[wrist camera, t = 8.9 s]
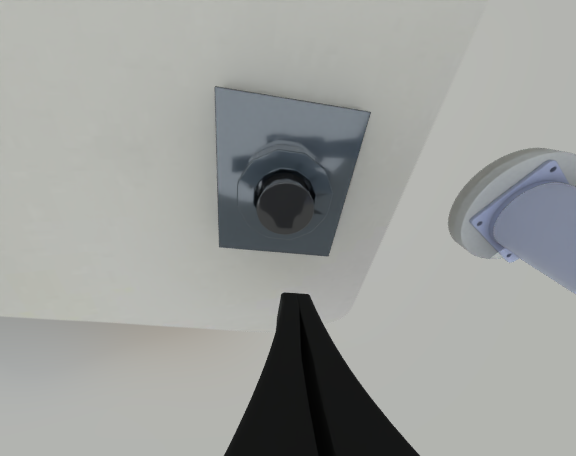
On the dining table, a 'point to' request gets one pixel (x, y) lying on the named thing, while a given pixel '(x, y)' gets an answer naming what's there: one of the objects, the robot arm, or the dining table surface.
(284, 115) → the grey button housing
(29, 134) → the dining table surface
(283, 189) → the dark grey push button
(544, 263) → the robot arm
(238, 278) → the dining table surface
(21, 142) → the dining table surface
